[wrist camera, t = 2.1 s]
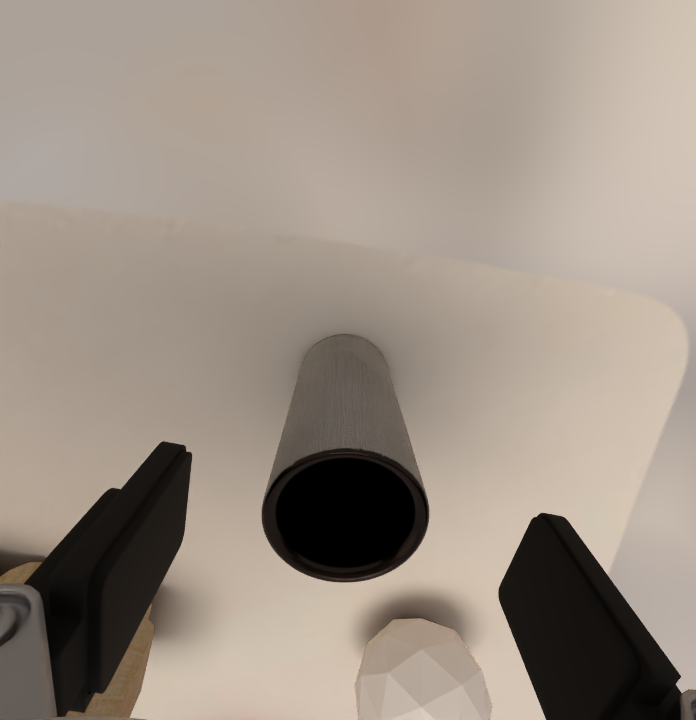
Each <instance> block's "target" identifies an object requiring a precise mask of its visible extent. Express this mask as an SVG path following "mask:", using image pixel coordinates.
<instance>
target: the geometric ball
mask: <svg viewBox="0 0 696 720" xmlns="http://www.w3.org/2000/svg"><path fill="white" fill-rule="evenodd" d="M355 692H356V702H357V712H358V720H490V717H491V711H492V704H491V701H490V697H489V694H488V690H487V687H486V683H485V680H484V676H483V673H482V669H481V668H480V666H479V665H478V663H477V662H476V660H475V659H474V657H473V656H472V654H471V653H470V651H469V650H468V648H467V647H466V646H465V644H464V643H463V641H462V640H461V638H460V637H459V635H458V634H457V632H456V631H455V630H453V629H450V628H447V627H444V626H441V625H439V624H436V623H433V622H430V621H427V620H425V619H422V618H418V619H393V620H392V621H391V622H390V623H389V624H388V625H387V626H386V627H385V628H383V629H382V630H381V631H380V632H379V633H378V634H377V635H376V636H375V637H374V638H373V639H372V640H370V641H369V642H368V643H367V646H366V649H365V652H364V656H363V659H362V662H361V665H360V669H359V672H358V675H357V679H356V682H355Z"/></svg>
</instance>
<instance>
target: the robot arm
mask: <svg viewBox="0 0 696 720" xmlns="http://www.w3.org/2000/svg"><path fill="white" fill-rule="evenodd" d="M191 462H192V453H191V452H186V447H185V446H184V445H180V444H175V443H169V442H164V441H163V442H161V443H160V444H159V445H158V446H157V447H156V448H155V450H154V451H153V452H152V453H151V454H150V455H149V457H148V458H147V459H146V460H145V461H144V463H143V464H142V465H141V466H140V467H139V469H138V470H137V471H136V472H135V473H134V474H133V476H132V477H131V478H130V479H129V480H128V482H127V483H126V484H125V485H124V486H123V488H122V489H116V488H111V489H109V490H107V491H106V492H105V493H104V494H103V495H102V496H101V497H100V498H99V500H98V501H97V502H96V503H95V504H94V505H93V506H92V507H91V509H90V510H89V511H88V512H87V513H86V514H85V515H84V516H83V517H82V519H81V520H80V521H79V522H78V523H77V524H76V525H75V526H74V528H73V529H72V530H71V531H70V532H69V533H68V534H67V535H66V537H65V538H64V539H63V540H62V541H61V542H60V543H59V544H58V546H57V547H56V548H55V549H54V550H53V551H52V552H51V553H50V554H49V556H48V557H47V558H46V559H45V560H44V561H43V562H42V563H41V565H40V566H39V567H38V568H37V569H36V570H35V571H34V572H33V574H32V575H31V576H30V577H29V578H28V579H27V580H26V581H25V583H24V584H21V583H3V584H0V720H145V719H136V718H119V717H100V716H73V717H66V715H67V713H68V711H73V712H81V713H85V711H86V709H87V707H88V705H89V703H90V702H91V700H92V698H93V696H94V694H95V693H99V694H103V693H104V692H105V690H106V689H107V687H108V686H109V684H110V682H111V680H112V678H113V676H114V674H115V672H116V670H117V668H118V666H119V664H120V663H121V661H122V659H123V657H124V655H125V653H126V651H127V649H128V647H129V645H130V643H131V641H132V639H133V637H134V635H135V633H136V631H137V629H138V628H139V626H140V624H141V622H142V620H143V618H144V616H145V614H146V612H147V610H148V608H149V606H150V604H151V602H152V600H153V598H154V596H155V594H156V593H157V591H158V589H159V587H160V585H161V583H162V581H163V579H164V577H165V575H166V573H167V571H168V569H169V567H170V565H171V563H172V561H173V560H174V558H175V556H176V554H177V552H178V550H179V548H180V546H181V543H182V540H183V536H184V531H185V521H186V511H187V501H188V492H189V482H190V472H191ZM499 601H500V604H501V606H502V609H503V611H504V614H505V617H506V619H507V622H508V624H509V627H510V629H511V632H512V634H513V637H514V639H515V642H516V644H517V647H518V649H519V652H520V654H521V657H522V660H523V662H524V665H525V667H526V670H527V672H528V675H529V677H530V680H531V682H532V685H533V687H534V690H535V692H536V695H537V698H538V700H539V703H540V705H541V708H542V710H543V713H544V715H545V718H546V720H696V690H687V691H685V692H683V693H681V692H680V690H679V689H678V687H677V686H676V683H677V681H678V680H679V679H680V677H681V676H680V674H679V673H678V671H677V670H676V669H675V668H674V666H673V665H672V663H671V662H670V661H669V659H668V658H667V656H666V655H665V654H664V652H663V651H662V650H661V649H660V647H659V645H658V644H657V643H656V641H655V640H654V638H653V637H652V636H651V634H650V633H649V632H648V631H647V629H646V628H645V626H644V625H643V623H642V622H641V621H640V619H639V618H638V616H637V615H636V614H635V612H634V611H633V610H632V608H631V607H630V606H629V604H628V603H627V601H626V600H625V599H624V598H623V596H622V595H621V593H620V592H619V590H618V589H617V588H616V586H614V584H613V582H612V581H611V580H610V578H609V577H608V575H607V574H606V573H605V571H604V570H603V568H602V567H601V566H600V564H599V563H598V562H597V560H596V559H595V557H594V556H593V555H592V553H591V552H590V551H589V549H588V548H587V546H586V545H585V544H584V542H583V541H582V540H581V538H580V537H579V535H578V534H577V533H576V531H575V530H574V529H573V527H572V526H571V524H570V523H569V522H568V520H567V519H566V518H564V517H562V516H557V515H552V514H547V513H541V514H539V515H538V516H537V517H534V518H533V519H532V520H531V522H530V524H529V526H528V528H527V530H526V532H525V534H524V536H523V539H522V541H521V543H520V545H519V547H518V549H517V551H516V553H515V555H514V557H513V559H512V561H511V564H510V566H509V568H508V570H507V572H506V574H505V576H504V578H503V580H502V582H501V584H500V587H499Z"/></svg>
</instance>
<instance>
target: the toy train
mask: <svg viewBox="0 0 696 720" xmlns="http://www.w3.org/2000/svg"><path fill="white" fill-rule="evenodd" d="M41 563H42V562H28V563H26V564H23V565H21V566H18V567H16V568H13V569H11V570H9V571H7V572H6V573H5V574H3V575H2V576H0V584H3V583H21V584H24V583H25V581H26V580H27V579H28V578H29V577H30V576H31V575H32V574H33V572H34V571H35V570H36V569H37V568H38V567H39V566H40V565H41ZM151 608H152V602H151V604H150V606H149V608H148V610H147V612H146V614H145V616H144V618H143V620H142V622H141V624H140V626H139V628H138V629H137V631H136V633H135V635H134V637H133V639H132V641H131V643H130V645H129V647H128V649H127V651H126V653H125V655H124V657H123V659H122V661H121V663H120V664H119V666H118V668H117V670H116V672H115V674H114V676H113V678H112V680H111V682H110V684H109V686H108V687H107V689H106V690H105V692H104V693H103V694H99V693H95V694H94V696H93V698H92V700H91V702H90V703H89V705H88V707H87V709H86V711H85V713H81V712H73V711H68V713H67V715H66V717H73V716H100V717H119V718H129V717H130V715H131V712H132V710H133V708H134V705H135V703H136V701H137V698H138V696H139V694H140V691H141V687H142V683H143V679H144V674H145V670H146V666H147V661H148V657H149V653H150V648H151V644H152V640H153V635H154V631H155V630H154V626H153V623H152V622H150V621H149V617H150V612H151Z"/></svg>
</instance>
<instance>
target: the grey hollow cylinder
mask: <svg viewBox="0 0 696 720" xmlns="http://www.w3.org/2000/svg"><path fill="white" fill-rule="evenodd" d="M428 523H429V504H428V499H427V495H426V492H425V488H424V485H423V482H422V478H421V475H420V472H419V468H418V465H417V462H416V458H415V455H414V452H413V448H412V445H411V442H410V439H409V435H408V432H407V429H406V425H405V422H404V419H403V415H402V412H401V409H400V405H399V402H398V399H397V395H396V392H395V389H394V386H393V382H392V379H391V376H390V372H389V369H388V366H387V363H386V361H385V359H384V357H383V355H382V354H381V352H380V351H379V350H378V349H377V348H376V347H375V346H374V345H373V344H372V343H370V342H369V341H367V340H365V339H363V338H361V337H357V336H353V335H335V336H331V337H328V338H326V339H324V340H322V341H320V342H319V343H317V344H316V345H315V346H314V347H312V349H311V350H310V351H309V352H308V354H307V355H306V357H305V359H304V361H303V363H302V365H301V368H300V372H299V375H298V379H297V382H296V386H295V390H294V393H293V397H292V400H291V404H290V407H289V411H288V414H287V418H286V421H285V425H284V428H283V432H282V436H281V439H280V443H279V446H278V450H277V453H276V457H275V460H274V464H273V467H272V471H271V474H270V478H269V481H268V485H267V489H266V492H265V496H264V500H263V505H262V524H263V528H264V532H265V535H266V537H267V539H268V541H269V543H270V545H271V547H272V548H273V549H274V551H275V552H276V553H277V554H278V556H279V557H280V558H281V559H283V560H284V561H285V562H286V563H287V564H289V565H290V566H291V567H293V568H294V569H296V570H298V571H299V572H301V573H304V574H306V575H308V576H311V577H314V578H317V579H321V580H325V581H331V582H359V581H365V580H369V579H373V578H376V577H379V576H382V575H384V574H386V573H388V572H390V571H392V570H394V569H396V568H397V567H399V566H400V565H402V564H403V563H404V562H405V561H406V560H408V559H409V558H410V557H411V556H412V555H413V553H414V552H415V551H416V550H417V548H418V547H419V545H420V544H421V542H422V540H423V538H424V536H425V534H426V531H427V527H428Z"/></svg>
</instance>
